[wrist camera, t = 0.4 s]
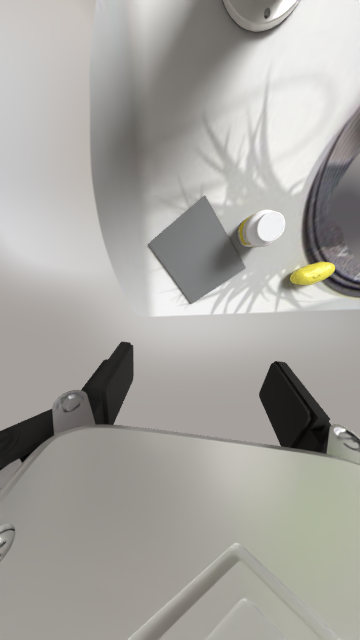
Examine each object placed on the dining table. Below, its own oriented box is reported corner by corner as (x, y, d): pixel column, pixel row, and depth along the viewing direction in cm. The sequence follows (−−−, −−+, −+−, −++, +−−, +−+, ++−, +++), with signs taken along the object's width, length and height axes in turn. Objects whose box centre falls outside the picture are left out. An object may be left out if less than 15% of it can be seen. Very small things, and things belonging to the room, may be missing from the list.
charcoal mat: (204, 195, 32) (204, 195, 31) (245, 267, 37) (245, 267, 36) (148, 244, 36) (148, 243, 35) (191, 303, 41) (191, 303, 40)
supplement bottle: (270, 224, 33) (299, 216, 24) (253, 251, 35) (275, 253, 26) (246, 211, 32) (266, 198, 24) (231, 239, 35) (244, 237, 26)
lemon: (286, 267, 36) (296, 269, 33) (327, 257, 35) (343, 259, 31) (286, 286, 38) (296, 290, 34) (326, 277, 36) (340, 281, 33)
